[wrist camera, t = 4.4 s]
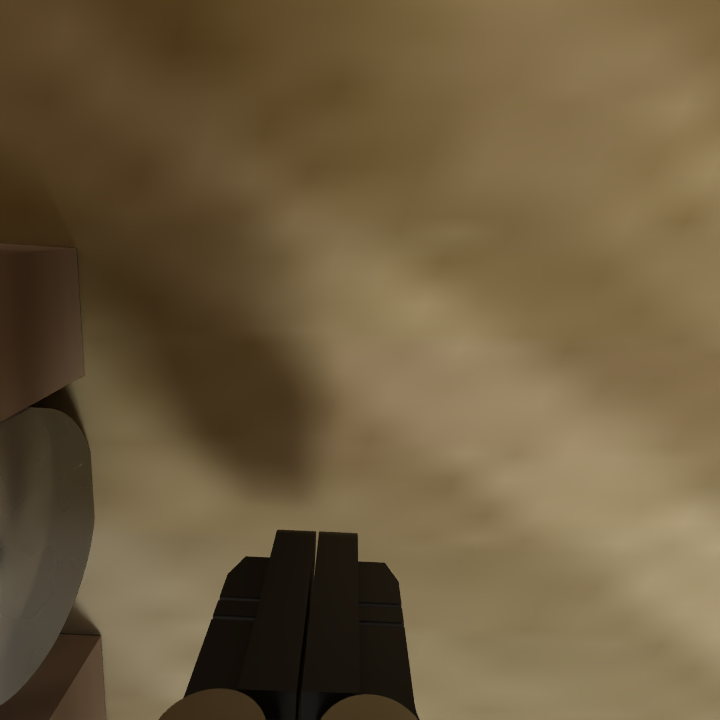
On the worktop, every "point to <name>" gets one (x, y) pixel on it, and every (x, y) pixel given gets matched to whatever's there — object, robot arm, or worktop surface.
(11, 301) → the slotted block
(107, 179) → the worktop surface
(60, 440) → the grey metal cylinder
